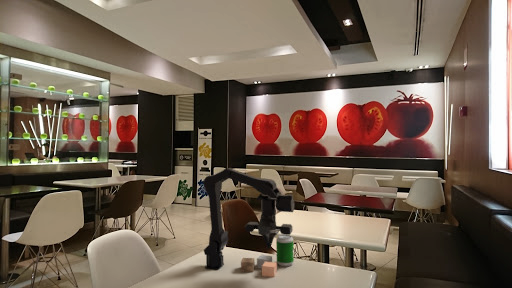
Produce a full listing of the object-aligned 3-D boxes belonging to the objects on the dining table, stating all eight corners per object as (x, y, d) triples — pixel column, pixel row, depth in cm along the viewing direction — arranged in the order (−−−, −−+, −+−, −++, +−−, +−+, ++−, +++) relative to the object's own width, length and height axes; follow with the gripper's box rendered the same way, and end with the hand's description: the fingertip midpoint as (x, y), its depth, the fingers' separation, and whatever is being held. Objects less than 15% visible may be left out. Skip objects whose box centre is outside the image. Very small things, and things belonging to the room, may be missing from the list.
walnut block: (241, 271, 127) (240, 262, 127) (243, 267, 132) (242, 257, 132) (253, 272, 126) (252, 262, 126) (254, 267, 131) (254, 258, 131)
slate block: (257, 267, 131) (256, 258, 131) (261, 263, 135) (261, 254, 135) (267, 269, 128) (267, 260, 129) (272, 265, 133) (272, 256, 133)
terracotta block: (262, 275, 122) (261, 265, 122) (265, 271, 127) (265, 261, 127) (274, 277, 121) (274, 267, 121) (276, 272, 126) (276, 262, 126)
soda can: (293, 267, 130) (292, 239, 130) (275, 266, 131) (275, 238, 131) (294, 261, 137) (294, 234, 137) (277, 260, 139) (277, 233, 139)
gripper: (240, 213, 119) (240, 253, 119) (287, 216, 114) (287, 258, 114) (249, 208, 130) (249, 244, 130) (292, 210, 125) (293, 248, 124)
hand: (268, 249), depth 124 cm, fingers closed
